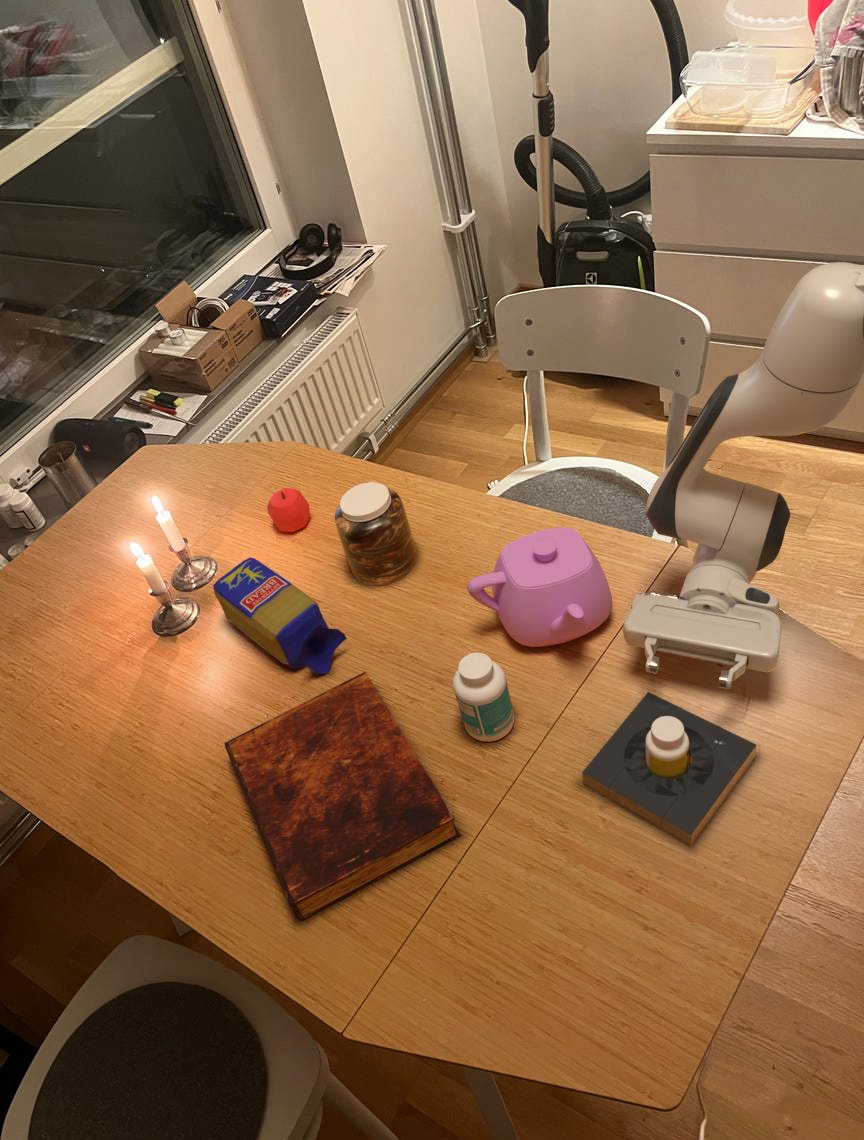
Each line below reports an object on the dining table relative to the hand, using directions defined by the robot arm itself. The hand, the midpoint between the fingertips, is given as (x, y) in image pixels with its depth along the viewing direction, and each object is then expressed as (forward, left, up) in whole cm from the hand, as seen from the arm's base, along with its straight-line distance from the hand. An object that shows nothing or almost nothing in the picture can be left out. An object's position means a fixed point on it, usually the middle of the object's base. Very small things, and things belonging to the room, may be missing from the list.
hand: (686, 677), depth 120 cm
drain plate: (-2, +9, -9) cm, 13 cm away
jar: (+60, -1, -10) cm, 60 cm away
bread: (+63, +21, -9) cm, 67 cm away
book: (+33, +38, -9) cm, 51 cm away
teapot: (+27, -6, -9) cm, 29 cm away
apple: (+83, 0, -10) cm, 83 cm away
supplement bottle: (-2, +9, -10) cm, 13 cm away
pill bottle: (+23, +16, -10) cm, 29 cm away
